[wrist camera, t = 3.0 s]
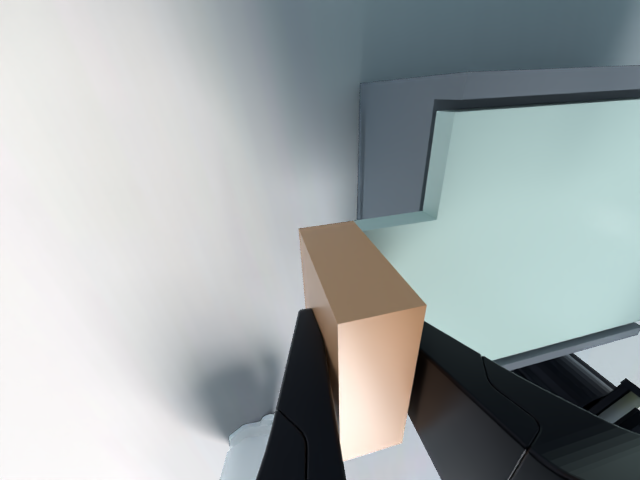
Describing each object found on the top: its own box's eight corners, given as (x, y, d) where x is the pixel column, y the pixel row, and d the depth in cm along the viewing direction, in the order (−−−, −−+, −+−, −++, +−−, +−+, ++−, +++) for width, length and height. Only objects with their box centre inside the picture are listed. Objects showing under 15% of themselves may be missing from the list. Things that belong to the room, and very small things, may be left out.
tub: (595, 72, 16) (829, 57, 9) (524, 266, 22) (637, 334, 15) (360, 83, 13) (466, 71, 7) (355, 300, 19) (409, 399, 13)
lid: (761, 88, 11) (1029, 85, 7) (623, 310, 16) (735, 373, 12) (288, 120, 7) (334, 146, 4) (313, 390, 12) (340, 511, 9)
